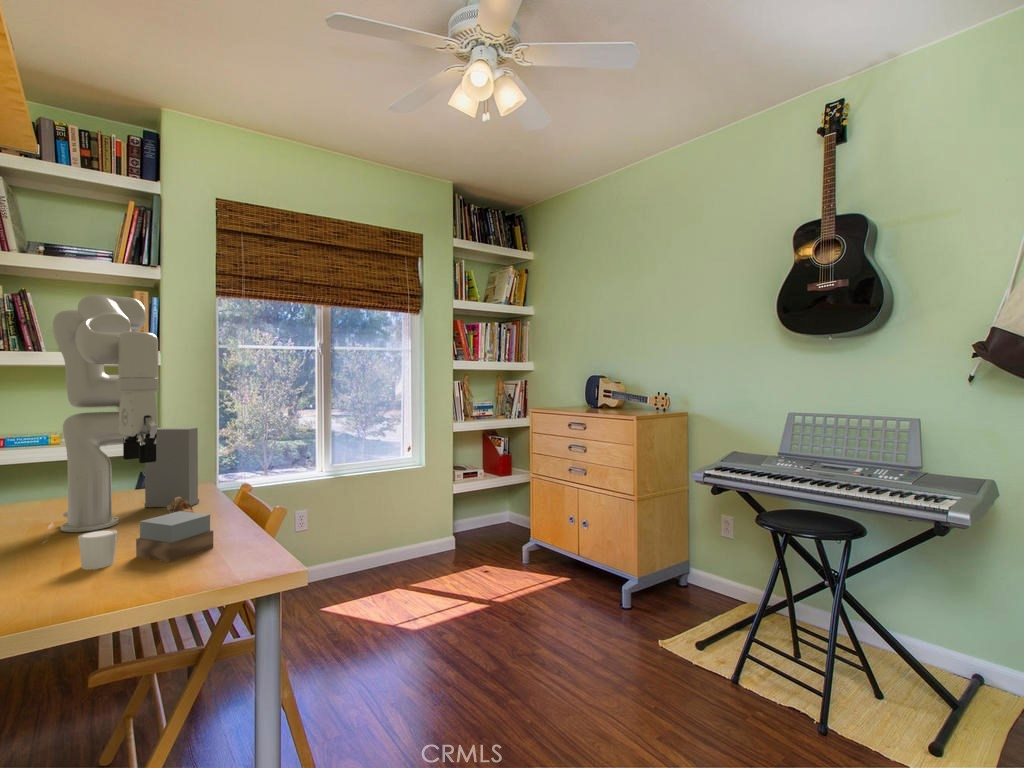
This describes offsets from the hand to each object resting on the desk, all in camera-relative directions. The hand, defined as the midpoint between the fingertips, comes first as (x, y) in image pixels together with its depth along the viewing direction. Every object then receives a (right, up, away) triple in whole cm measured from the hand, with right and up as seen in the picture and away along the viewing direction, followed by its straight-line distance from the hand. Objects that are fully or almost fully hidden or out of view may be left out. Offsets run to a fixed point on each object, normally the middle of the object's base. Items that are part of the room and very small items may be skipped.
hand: (139, 460), depth 121 cm
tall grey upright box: (-24, -22, +50) cm, 59 cm away
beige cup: (-6, -23, -5) cm, 24 cm away
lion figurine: (-2, -22, +19) cm, 30 cm away
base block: (+6, -23, +4) cm, 24 cm away
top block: (+6, -18, +4) cm, 20 cm away
